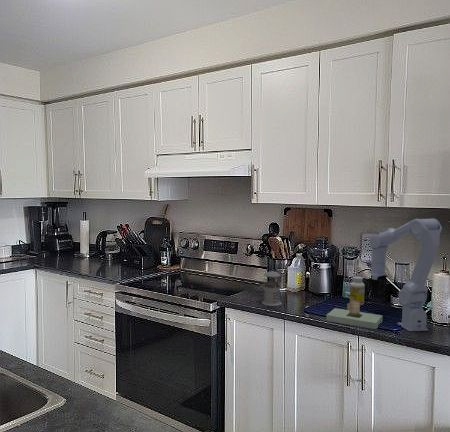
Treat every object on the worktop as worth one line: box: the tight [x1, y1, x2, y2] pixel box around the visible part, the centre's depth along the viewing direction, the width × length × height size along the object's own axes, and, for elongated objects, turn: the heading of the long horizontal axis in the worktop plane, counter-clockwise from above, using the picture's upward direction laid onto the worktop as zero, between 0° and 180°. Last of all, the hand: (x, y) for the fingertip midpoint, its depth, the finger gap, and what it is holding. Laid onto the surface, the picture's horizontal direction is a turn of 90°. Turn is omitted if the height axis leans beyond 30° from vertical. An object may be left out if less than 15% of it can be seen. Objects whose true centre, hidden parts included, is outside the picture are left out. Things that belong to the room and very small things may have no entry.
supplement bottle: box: [349, 275, 366, 306], centre depth 205 cm, size 7×7×13 cm
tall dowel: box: [349, 300, 361, 318], centre depth 178 cm, size 4×4×8 cm
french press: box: [261, 251, 282, 307], centre depth 206 cm, size 10×12×25 cm
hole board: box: [325, 307, 384, 330], centre depth 178 cm, size 20×12×2 cm, turn 59°
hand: (377, 293), depth 188 cm, fingers open, 7 cm apart
